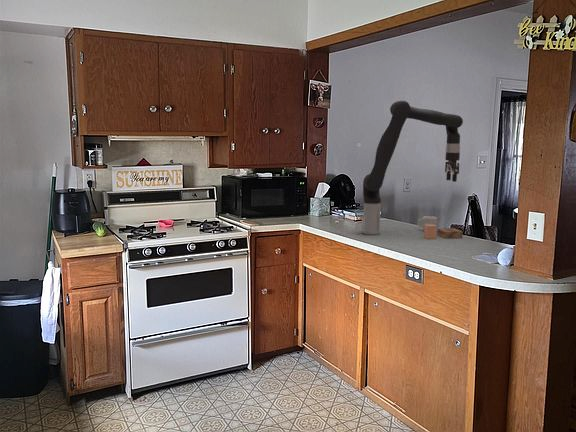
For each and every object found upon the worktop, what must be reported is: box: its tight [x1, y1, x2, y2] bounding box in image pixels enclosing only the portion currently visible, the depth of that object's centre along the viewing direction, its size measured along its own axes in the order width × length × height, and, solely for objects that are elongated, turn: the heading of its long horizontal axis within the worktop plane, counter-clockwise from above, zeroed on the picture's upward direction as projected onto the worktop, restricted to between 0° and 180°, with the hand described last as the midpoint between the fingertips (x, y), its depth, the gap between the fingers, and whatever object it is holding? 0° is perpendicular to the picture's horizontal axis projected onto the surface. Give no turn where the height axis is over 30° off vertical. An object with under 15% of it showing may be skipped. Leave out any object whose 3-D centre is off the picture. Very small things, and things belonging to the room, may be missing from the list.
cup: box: [417, 215, 438, 230], centre depth 310 cm, size 11×8×8 cm
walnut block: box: [436, 227, 463, 239], centre depth 292 cm, size 10×10×4 cm
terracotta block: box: [423, 224, 438, 240], centre depth 288 cm, size 5×5×7 cm
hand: (451, 180), depth 302 cm, fingers open, 8 cm apart
